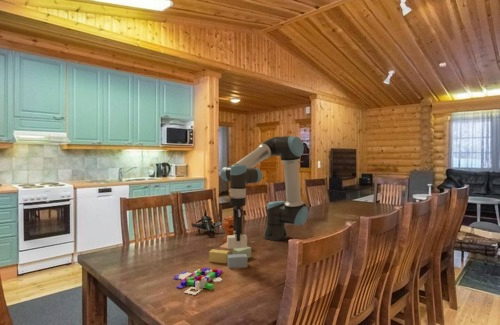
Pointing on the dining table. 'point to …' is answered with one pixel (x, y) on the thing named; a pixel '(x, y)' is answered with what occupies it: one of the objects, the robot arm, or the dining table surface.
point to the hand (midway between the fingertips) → (237, 245)
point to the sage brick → (242, 251)
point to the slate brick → (237, 261)
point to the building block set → (199, 279)
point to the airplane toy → (206, 224)
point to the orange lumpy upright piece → (228, 227)
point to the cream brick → (232, 241)
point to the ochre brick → (218, 256)
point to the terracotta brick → (226, 248)
